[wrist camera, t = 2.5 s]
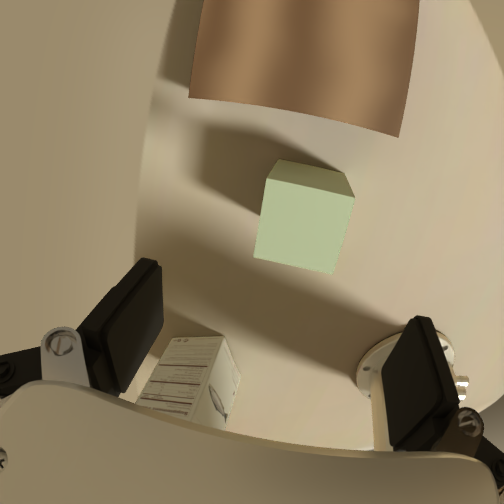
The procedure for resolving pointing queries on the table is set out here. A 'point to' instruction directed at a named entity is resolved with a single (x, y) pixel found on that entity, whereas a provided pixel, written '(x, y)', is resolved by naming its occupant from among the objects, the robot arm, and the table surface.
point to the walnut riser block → (309, 57)
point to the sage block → (304, 216)
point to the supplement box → (194, 381)
